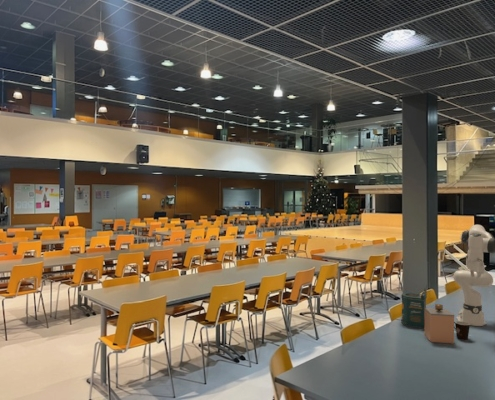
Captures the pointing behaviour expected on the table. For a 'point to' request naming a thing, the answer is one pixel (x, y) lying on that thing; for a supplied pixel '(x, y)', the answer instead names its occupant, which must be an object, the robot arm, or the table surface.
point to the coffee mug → (462, 330)
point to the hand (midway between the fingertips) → (475, 278)
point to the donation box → (414, 309)
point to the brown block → (439, 325)
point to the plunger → (438, 307)
